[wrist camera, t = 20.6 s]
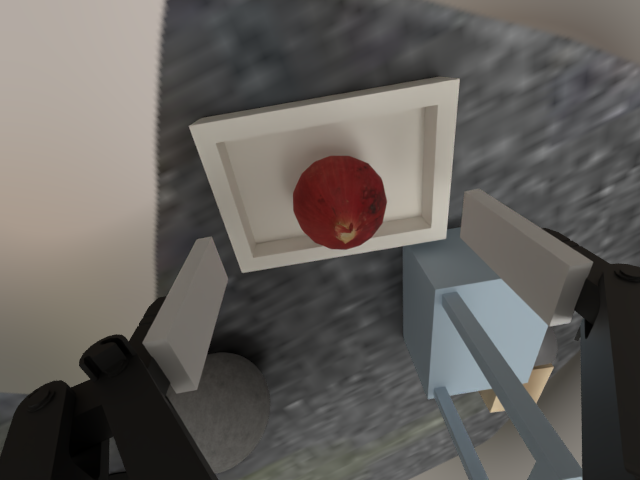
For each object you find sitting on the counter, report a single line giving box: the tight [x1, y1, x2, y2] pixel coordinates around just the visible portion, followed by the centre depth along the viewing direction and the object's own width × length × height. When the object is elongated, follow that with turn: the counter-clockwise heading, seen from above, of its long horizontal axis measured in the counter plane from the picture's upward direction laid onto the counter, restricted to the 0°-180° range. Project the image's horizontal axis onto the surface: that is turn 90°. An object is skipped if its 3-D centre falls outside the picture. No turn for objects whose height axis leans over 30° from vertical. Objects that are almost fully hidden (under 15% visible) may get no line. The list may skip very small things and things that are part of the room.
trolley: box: [403, 227, 582, 480], centre depth 22 cm, size 12×14×18 cm
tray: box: [189, 76, 460, 273], centre depth 21 cm, size 16×11×3 cm
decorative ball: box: [166, 352, 270, 474], centre depth 28 cm, size 10×10×10 cm
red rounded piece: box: [293, 156, 387, 250], centre depth 19 cm, size 6×6×8 cm
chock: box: [479, 363, 554, 413], centre depth 33 cm, size 5×7×5 cm
